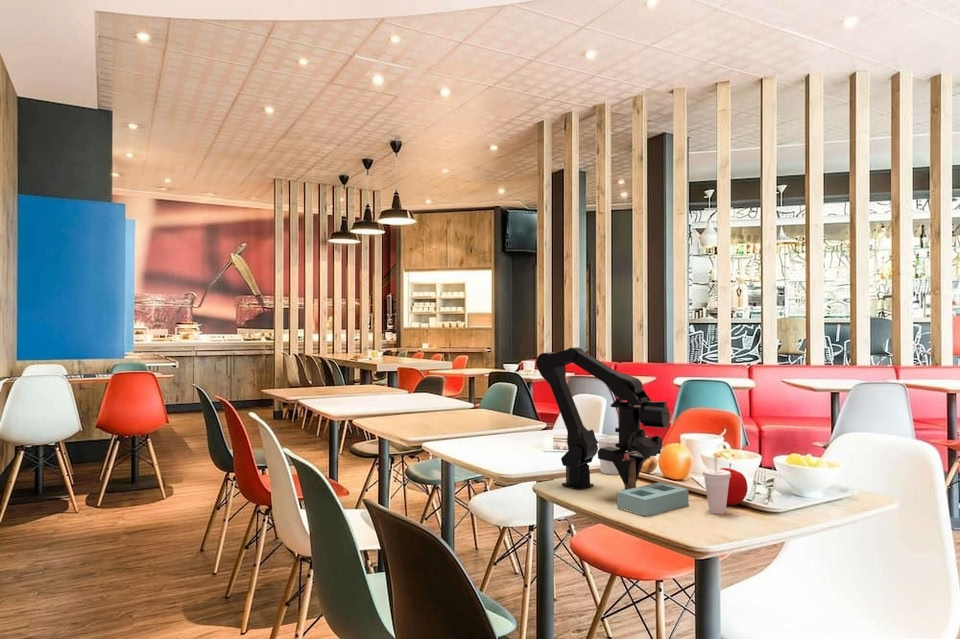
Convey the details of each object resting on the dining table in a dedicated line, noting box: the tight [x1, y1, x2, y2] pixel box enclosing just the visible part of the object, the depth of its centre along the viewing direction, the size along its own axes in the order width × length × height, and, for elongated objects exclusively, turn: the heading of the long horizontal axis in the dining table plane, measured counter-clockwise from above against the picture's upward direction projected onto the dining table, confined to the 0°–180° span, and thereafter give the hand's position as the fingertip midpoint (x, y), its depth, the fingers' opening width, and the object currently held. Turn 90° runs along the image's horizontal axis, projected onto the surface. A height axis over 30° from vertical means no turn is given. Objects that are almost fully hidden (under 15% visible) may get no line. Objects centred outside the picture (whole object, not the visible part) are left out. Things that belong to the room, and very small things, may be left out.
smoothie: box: [702, 453, 731, 515], centre depth 151 cm, size 6×6×14 cm
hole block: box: [616, 482, 690, 517], centre depth 155 cm, size 9×16×4 cm, turn 124°
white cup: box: [598, 437, 620, 476], centre depth 193 cm, size 8×8×10 cm
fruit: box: [719, 462, 748, 506], centre depth 158 cm, size 9×9×10 cm
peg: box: [623, 458, 637, 490], centre depth 167 cm, size 3×3×10 cm
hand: (630, 483), depth 167 cm, fingers closed on peg, 3 cm apart
